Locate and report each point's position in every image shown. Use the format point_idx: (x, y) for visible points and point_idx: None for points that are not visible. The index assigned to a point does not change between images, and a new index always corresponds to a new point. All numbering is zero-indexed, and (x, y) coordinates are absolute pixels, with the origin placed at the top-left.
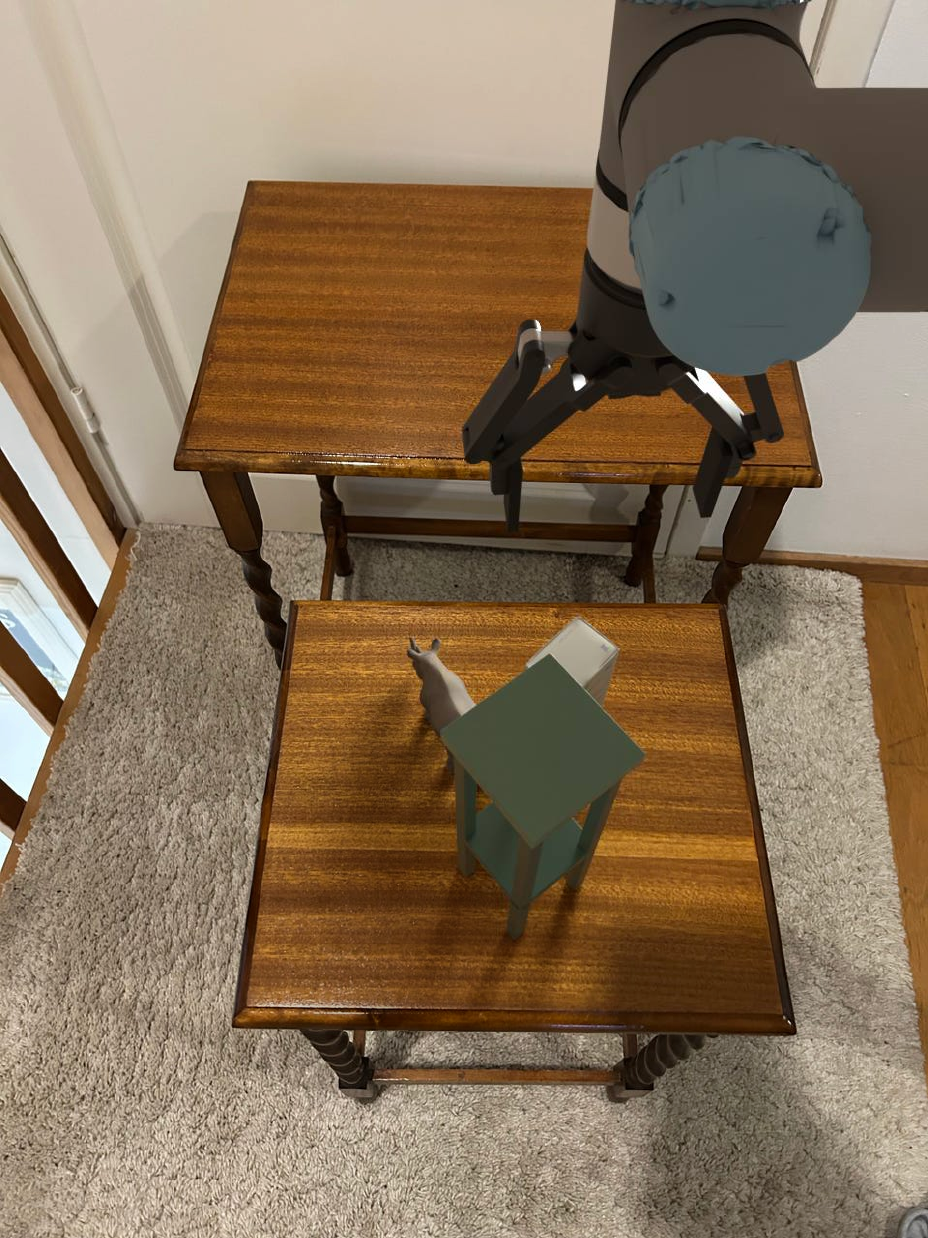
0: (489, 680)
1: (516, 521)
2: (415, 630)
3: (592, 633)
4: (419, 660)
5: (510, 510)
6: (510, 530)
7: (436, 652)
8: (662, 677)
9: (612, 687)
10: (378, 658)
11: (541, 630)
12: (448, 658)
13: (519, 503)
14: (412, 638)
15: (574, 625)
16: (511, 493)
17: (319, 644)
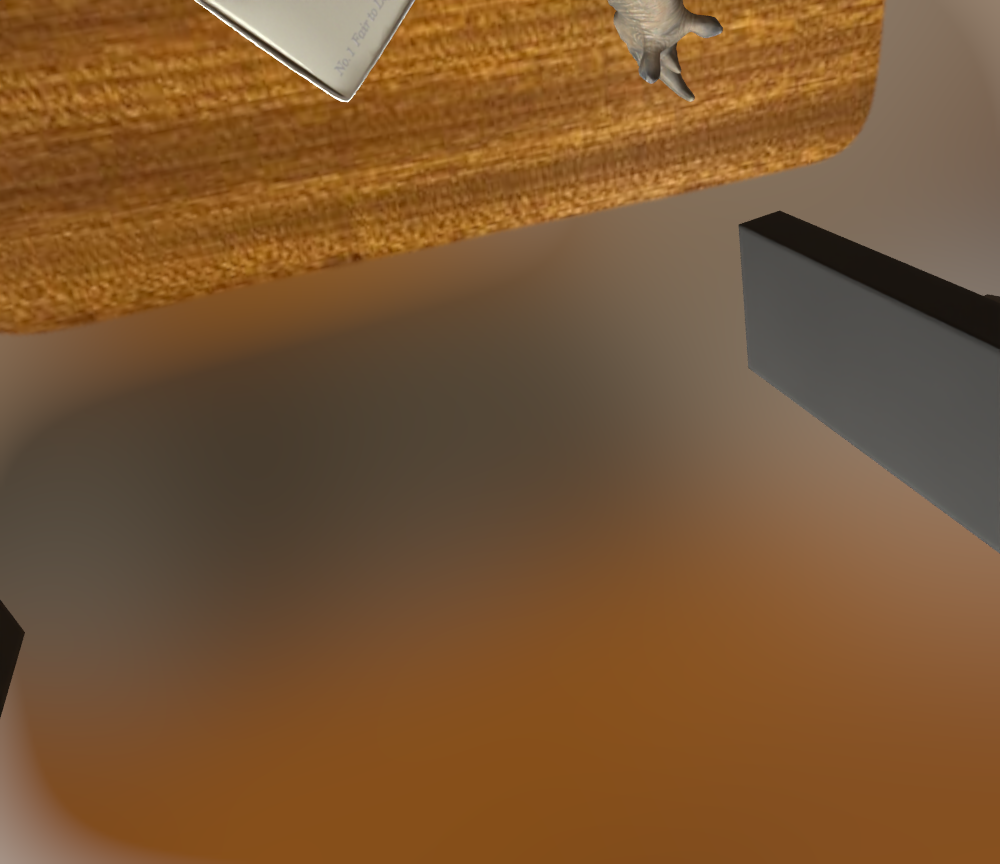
0: (481, 49)
1: (789, 240)
2: (651, 153)
3: (285, 37)
4: (686, 11)
5: (871, 255)
6: (775, 216)
7: (647, 45)
8: (53, 139)
9: (178, 83)
10: (721, 65)
11: (384, 212)
12: (578, 93)
13: (870, 282)
14: (686, 97)
15: (352, 62)
16: (975, 296)
17: (835, 78)
